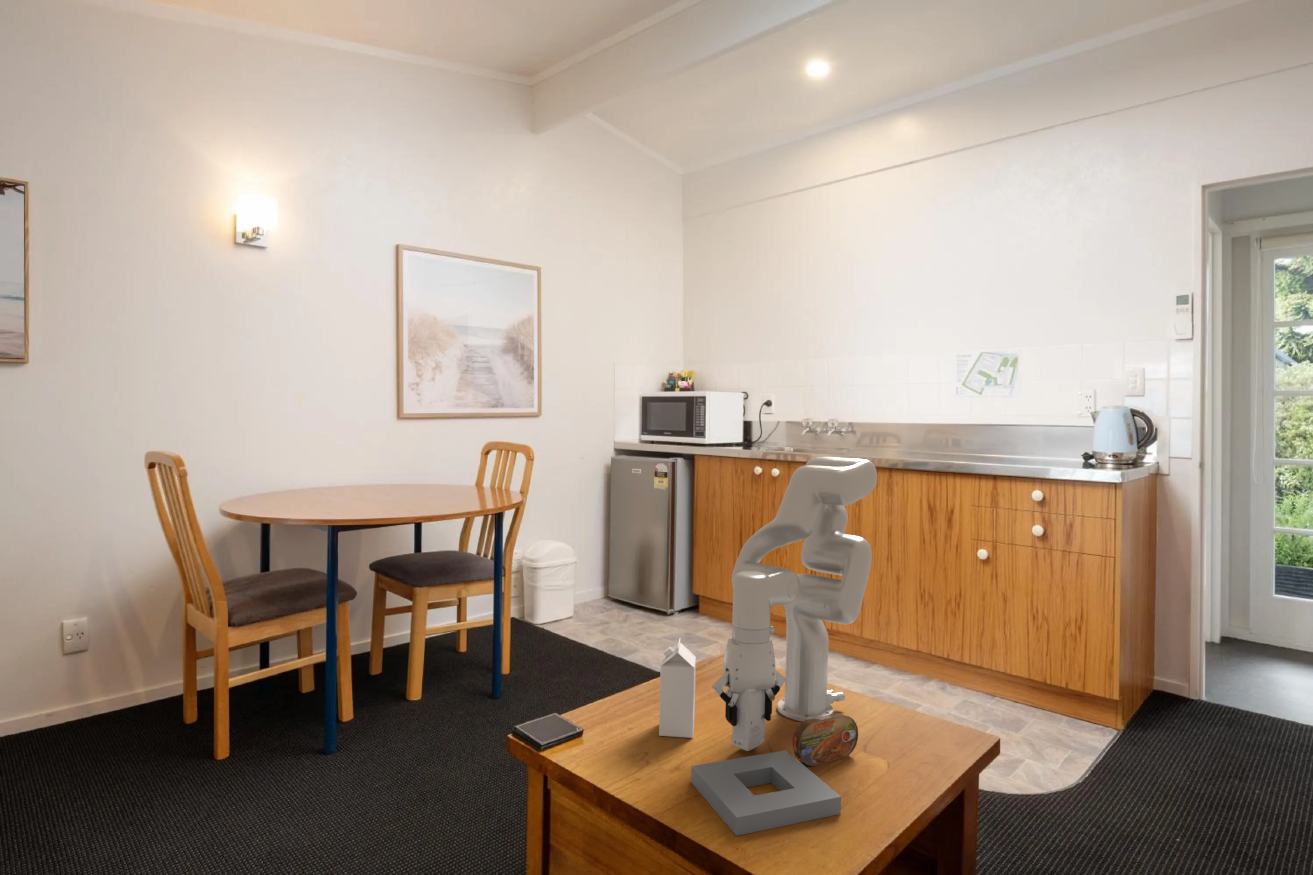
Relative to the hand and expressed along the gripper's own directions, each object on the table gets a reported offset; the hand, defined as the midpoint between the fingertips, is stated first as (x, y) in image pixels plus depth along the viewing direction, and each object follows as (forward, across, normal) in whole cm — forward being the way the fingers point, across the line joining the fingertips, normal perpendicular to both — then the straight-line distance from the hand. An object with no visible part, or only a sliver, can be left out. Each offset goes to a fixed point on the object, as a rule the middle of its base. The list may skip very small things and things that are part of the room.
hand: (748, 719), depth 146 cm
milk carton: (+6, +10, -13) cm, 18 cm away
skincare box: (+5, 0, 0) cm, 5 cm away
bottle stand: (+6, +6, +17) cm, 19 cm away
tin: (+6, -13, +8) cm, 16 cm away
